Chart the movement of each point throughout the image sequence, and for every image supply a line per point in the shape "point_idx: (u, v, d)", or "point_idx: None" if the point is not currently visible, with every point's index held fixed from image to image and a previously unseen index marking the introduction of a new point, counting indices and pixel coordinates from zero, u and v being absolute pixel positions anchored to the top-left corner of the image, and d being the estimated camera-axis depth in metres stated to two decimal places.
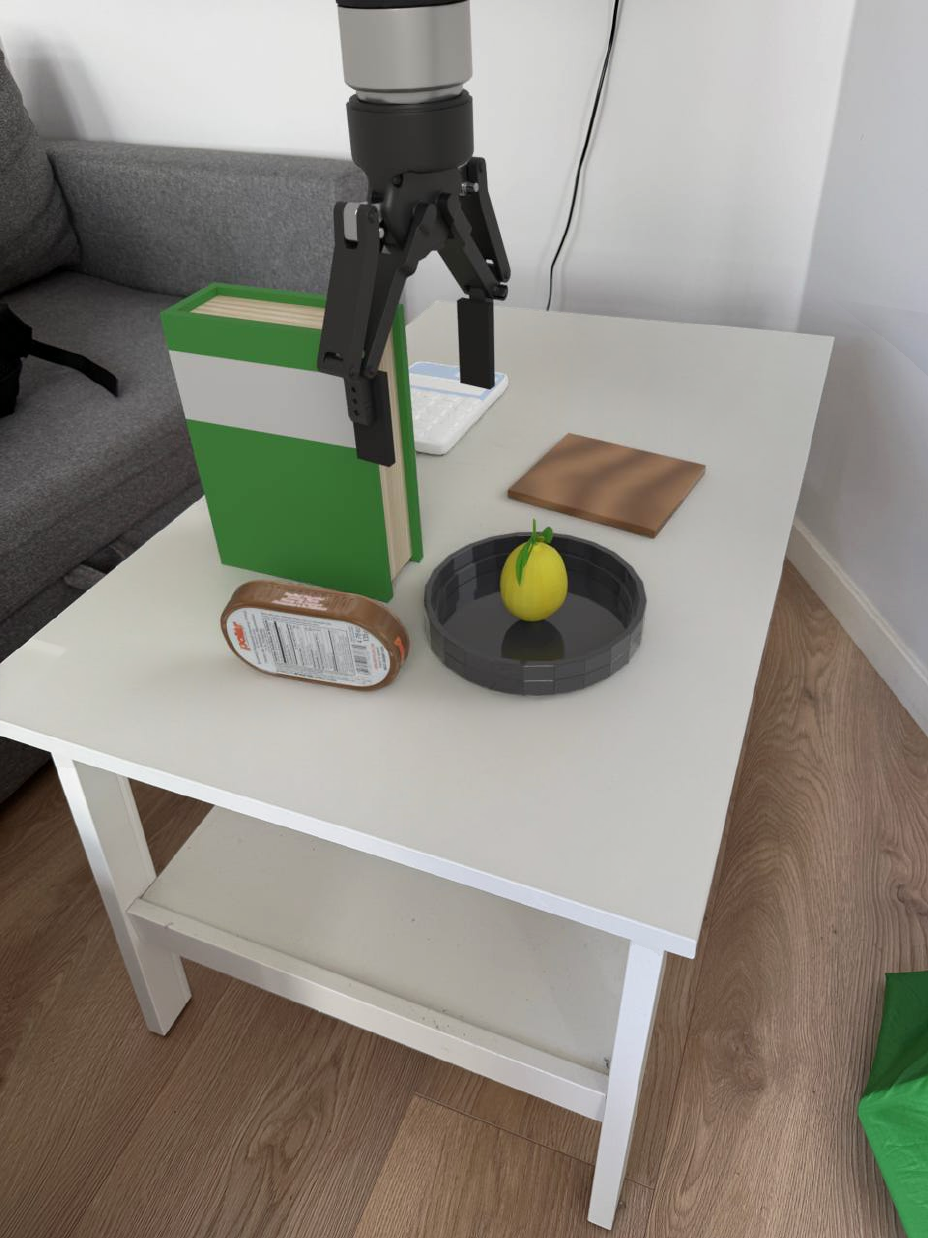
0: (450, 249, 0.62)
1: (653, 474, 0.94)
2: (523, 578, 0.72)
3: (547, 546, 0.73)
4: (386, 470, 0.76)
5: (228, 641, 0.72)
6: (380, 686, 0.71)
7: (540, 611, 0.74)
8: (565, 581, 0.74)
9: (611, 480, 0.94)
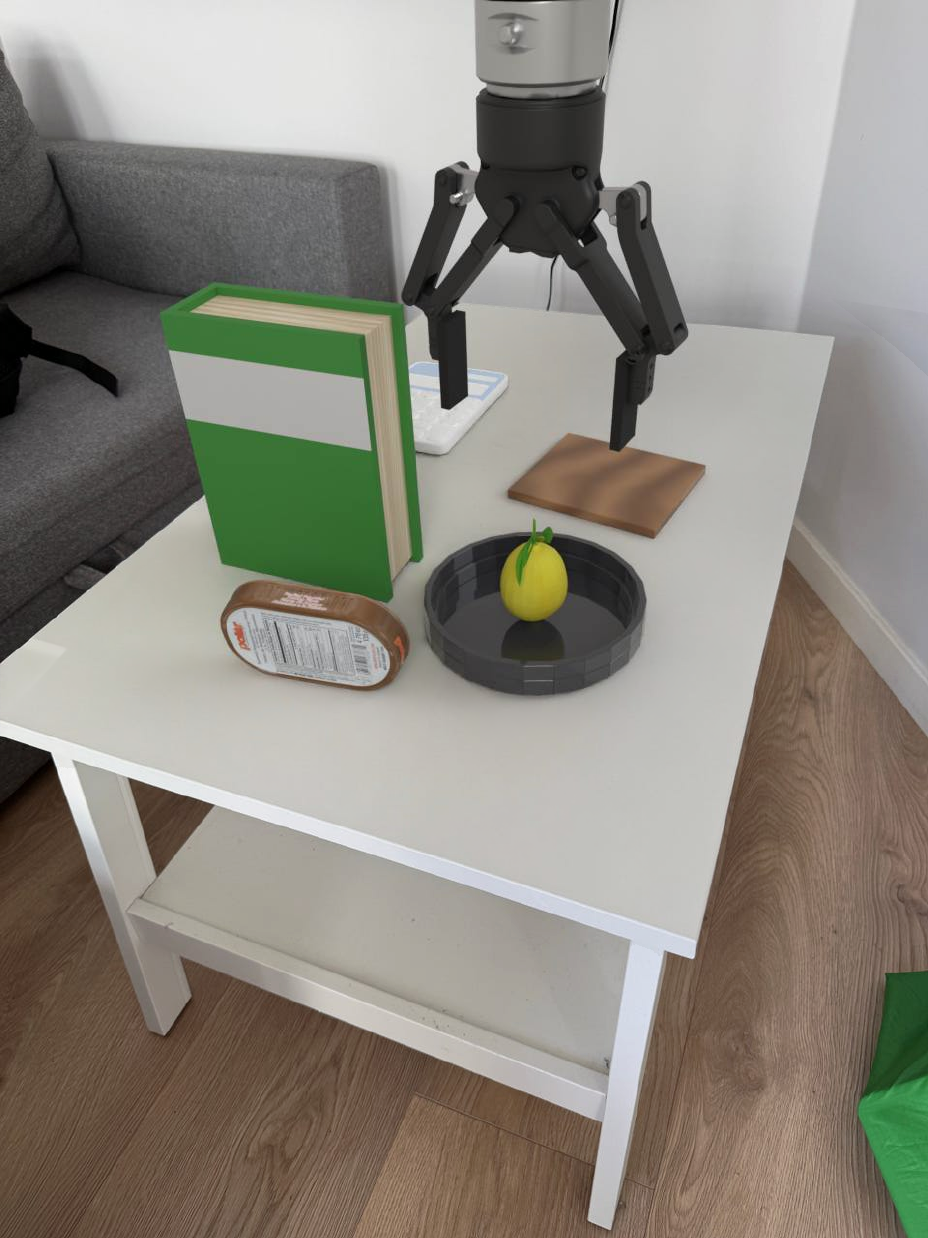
0: (490, 254, 0.60)
1: (653, 474, 0.94)
2: (523, 578, 0.72)
3: (547, 546, 0.73)
4: (386, 470, 0.76)
5: (228, 641, 0.72)
6: (380, 686, 0.71)
7: (540, 611, 0.74)
8: (565, 581, 0.74)
9: (611, 480, 0.94)
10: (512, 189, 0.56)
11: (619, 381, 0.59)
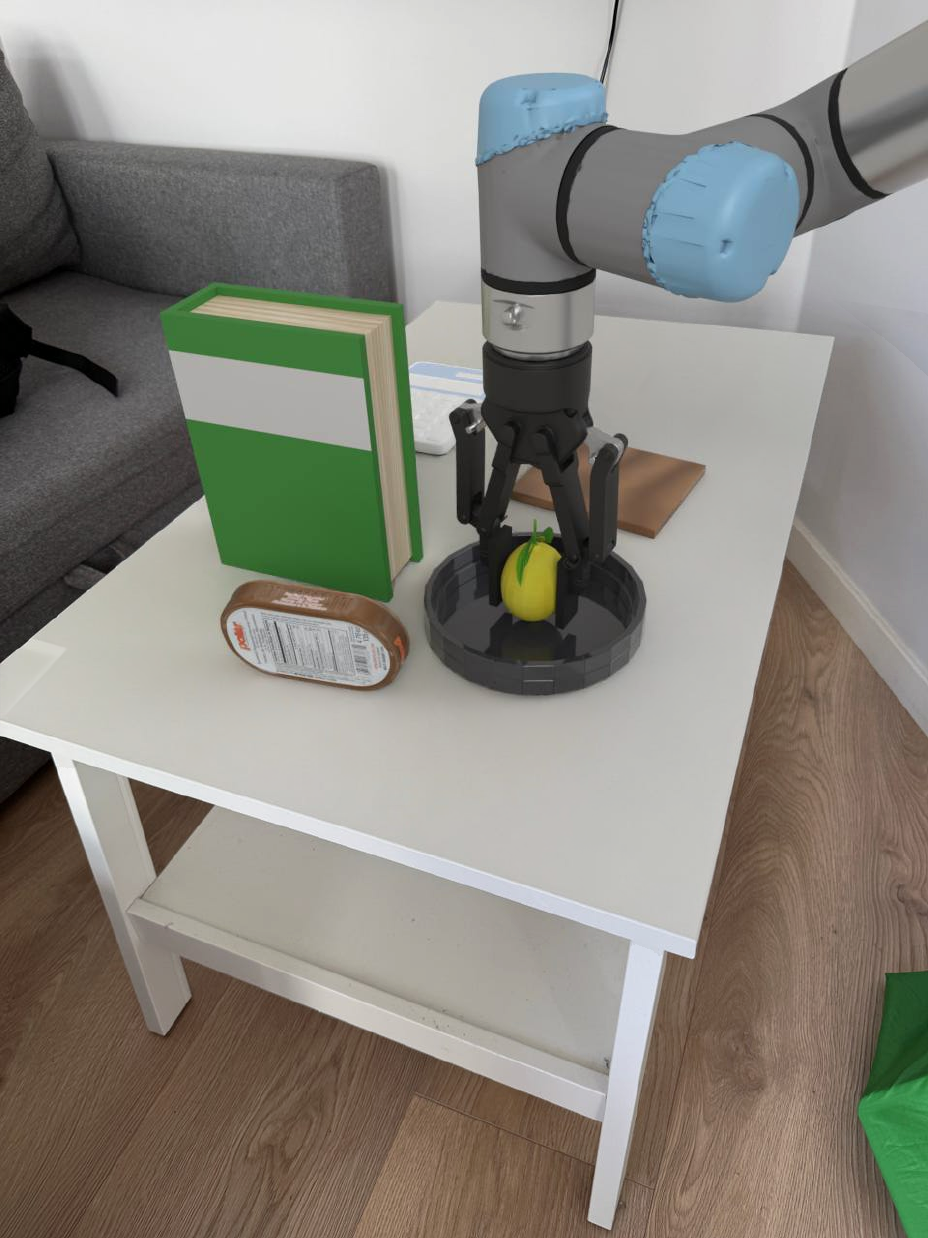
0: (514, 470, 0.70)
1: (653, 474, 0.94)
2: (523, 578, 0.72)
3: (548, 546, 0.73)
4: (386, 470, 0.76)
5: (228, 641, 0.72)
6: (380, 686, 0.71)
7: (540, 611, 0.74)
8: None
9: None
10: (513, 417, 0.65)
11: (560, 578, 0.71)
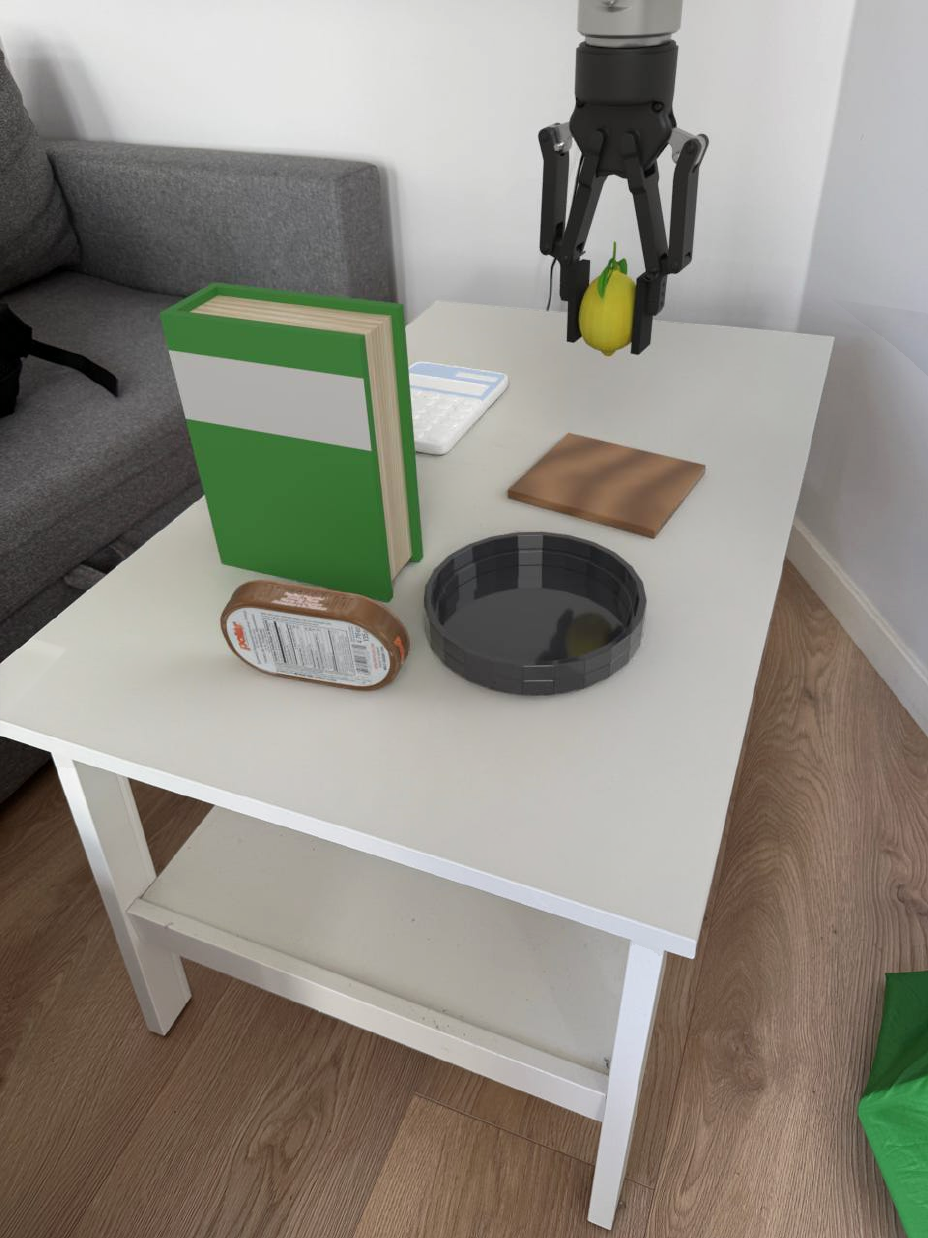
0: (597, 190, 0.75)
1: (653, 474, 0.94)
2: (603, 300, 0.78)
3: (624, 274, 0.79)
4: (386, 470, 0.76)
5: (228, 641, 0.72)
6: (380, 686, 0.71)
7: (617, 335, 0.79)
8: None
9: (611, 480, 0.94)
10: (601, 123, 0.71)
11: (639, 296, 0.77)
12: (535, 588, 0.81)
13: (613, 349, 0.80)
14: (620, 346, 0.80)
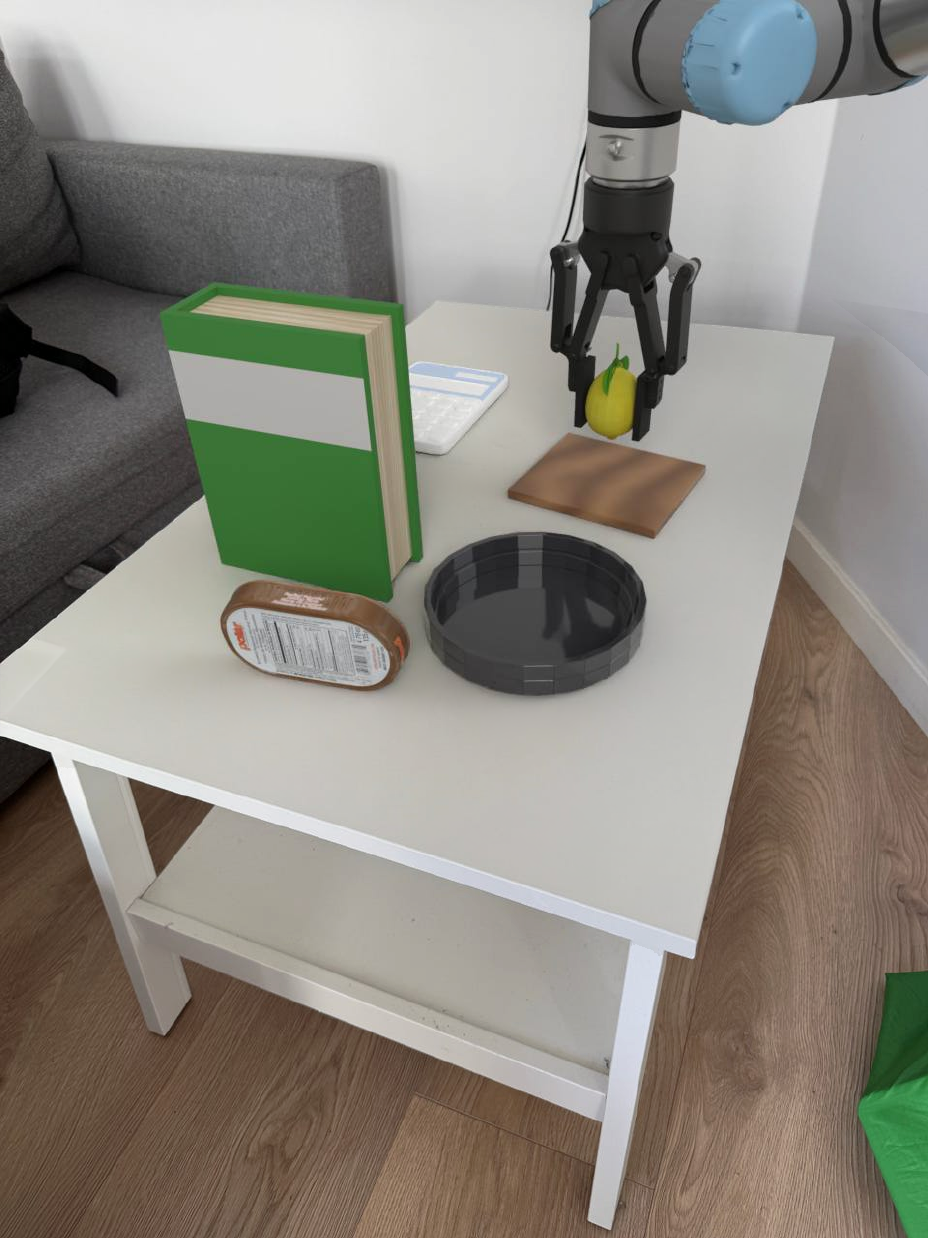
0: (602, 299, 0.84)
1: (653, 474, 0.94)
2: (607, 394, 0.87)
3: (626, 370, 0.88)
4: (386, 470, 0.76)
5: (228, 641, 0.72)
6: (380, 686, 0.71)
7: (620, 425, 0.88)
8: None
9: (611, 480, 0.94)
10: (606, 246, 0.80)
11: (639, 392, 0.86)
12: (535, 588, 0.81)
13: (616, 435, 0.89)
14: (622, 433, 0.89)
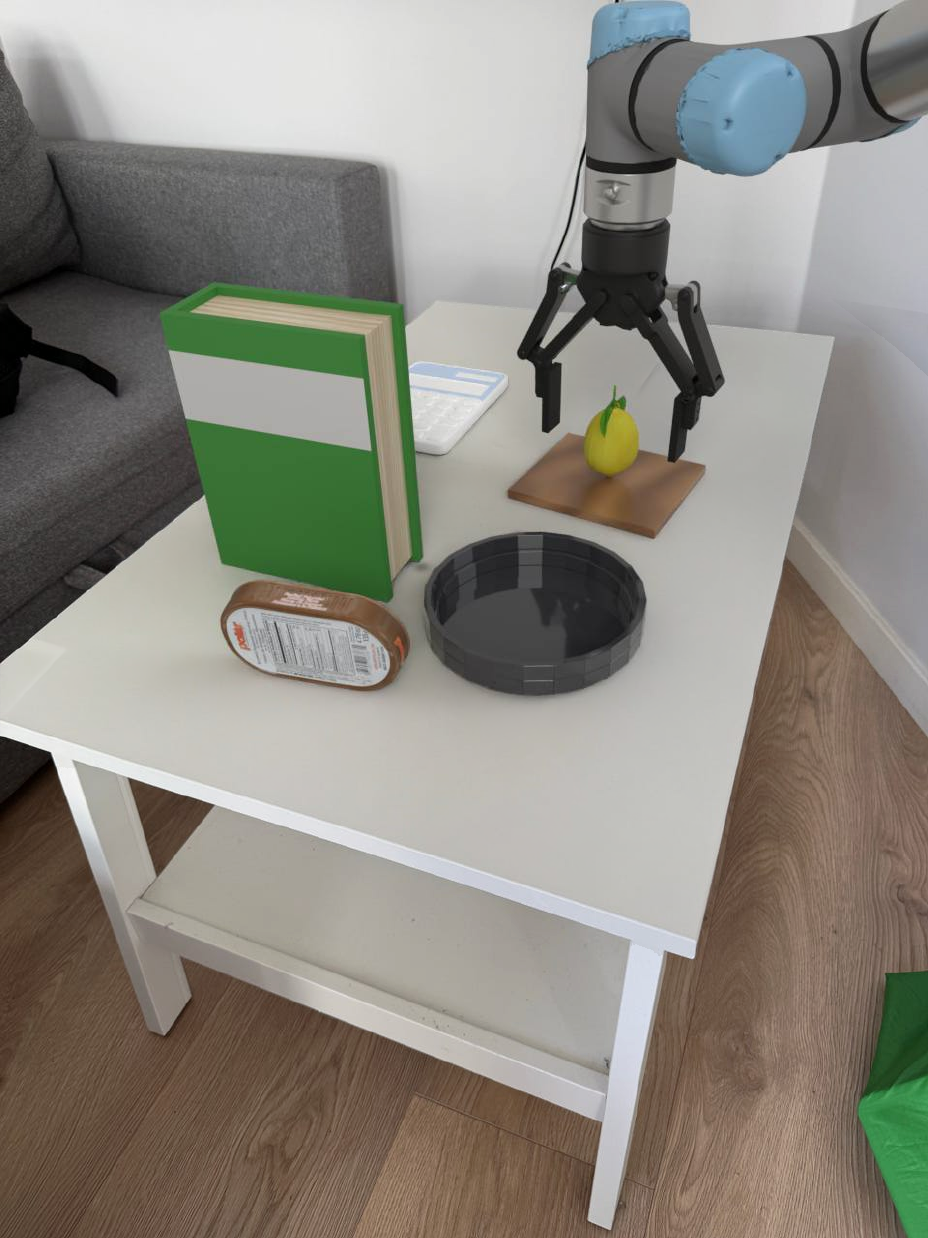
0: (584, 325, 0.86)
1: (653, 474, 0.94)
2: None
3: (623, 410, 0.90)
4: (386, 470, 0.76)
5: (228, 641, 0.72)
6: (380, 686, 0.71)
7: (617, 463, 0.91)
8: (638, 439, 0.91)
9: (611, 480, 0.94)
10: (604, 284, 0.82)
11: (676, 414, 0.85)
12: (535, 588, 0.81)
13: (613, 473, 0.92)
14: (619, 471, 0.92)
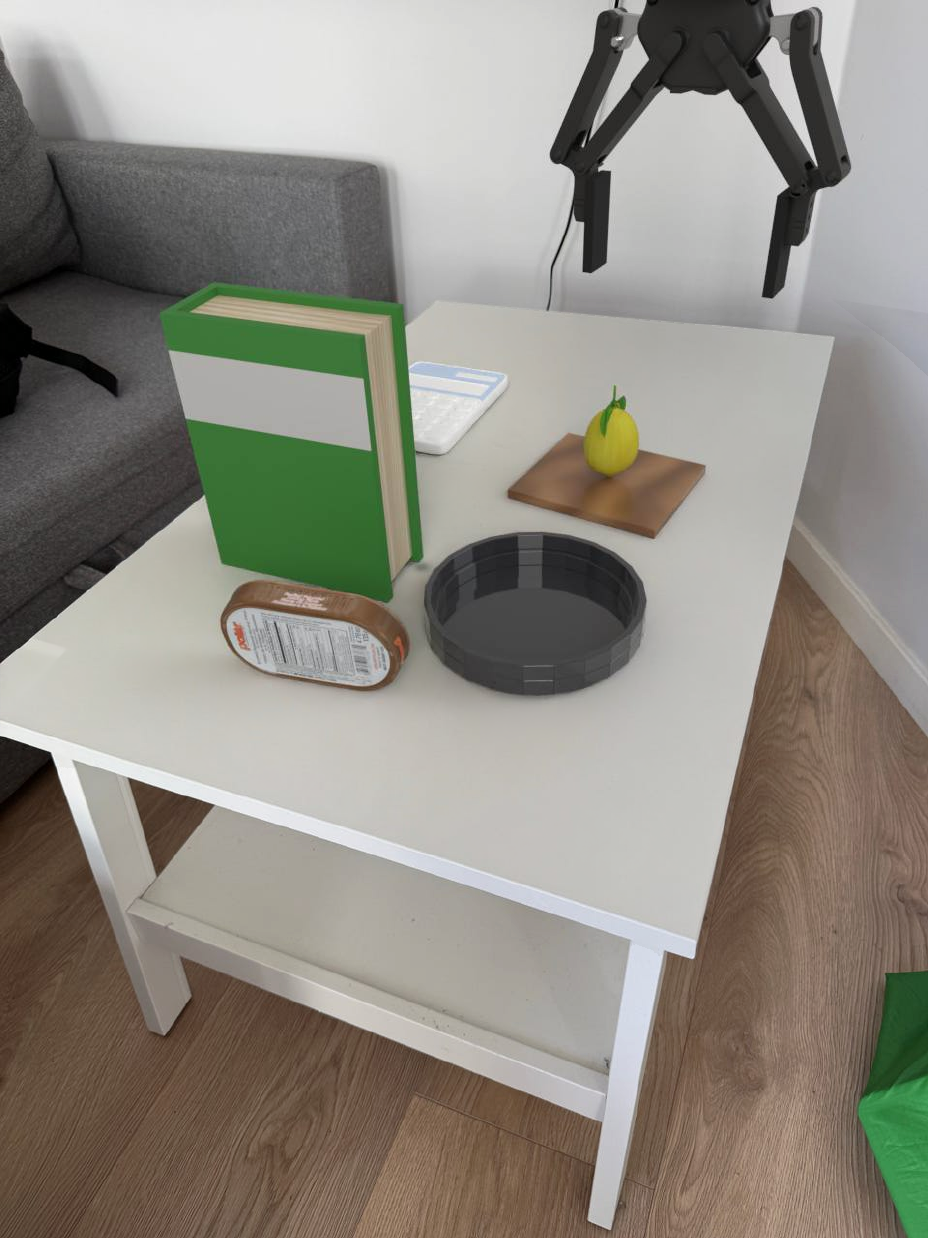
0: (646, 102, 0.61)
1: (653, 474, 0.94)
2: None
3: (623, 410, 0.90)
4: (386, 470, 0.76)
5: (228, 641, 0.72)
6: (380, 686, 0.71)
7: (617, 463, 0.91)
8: (638, 440, 0.91)
9: (611, 480, 0.94)
10: (679, 24, 0.57)
11: (779, 220, 0.59)
12: (535, 588, 0.81)
13: (613, 473, 0.92)
14: (619, 471, 0.92)
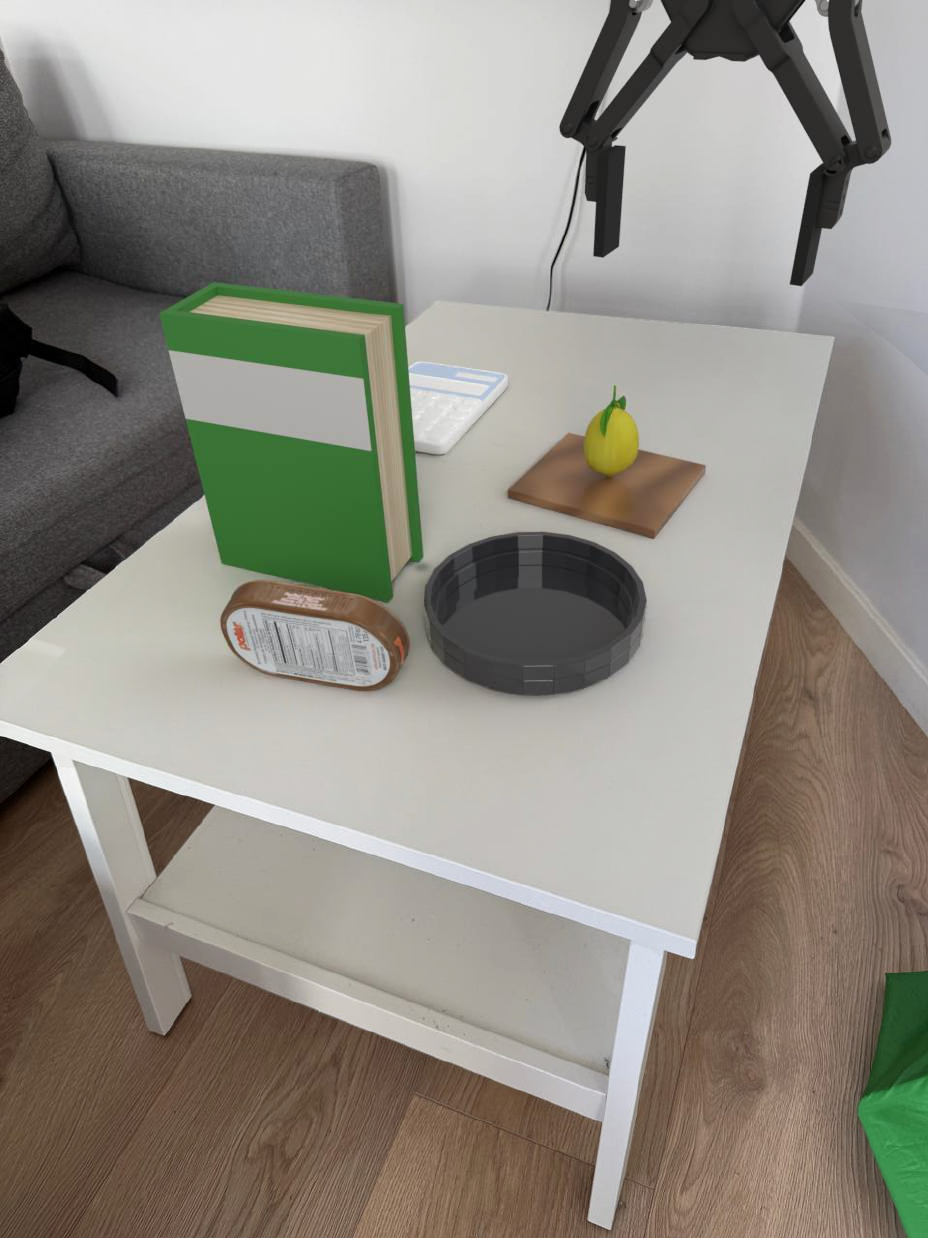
0: (666, 69, 0.56)
1: (653, 474, 0.94)
2: None
3: (623, 410, 0.90)
4: (386, 470, 0.76)
5: (228, 641, 0.72)
6: (380, 686, 0.71)
7: (617, 463, 0.91)
8: (638, 439, 0.91)
9: (611, 480, 0.94)
10: None
11: (811, 200, 0.55)
12: (535, 588, 0.81)
13: (613, 473, 0.92)
14: (619, 471, 0.92)
